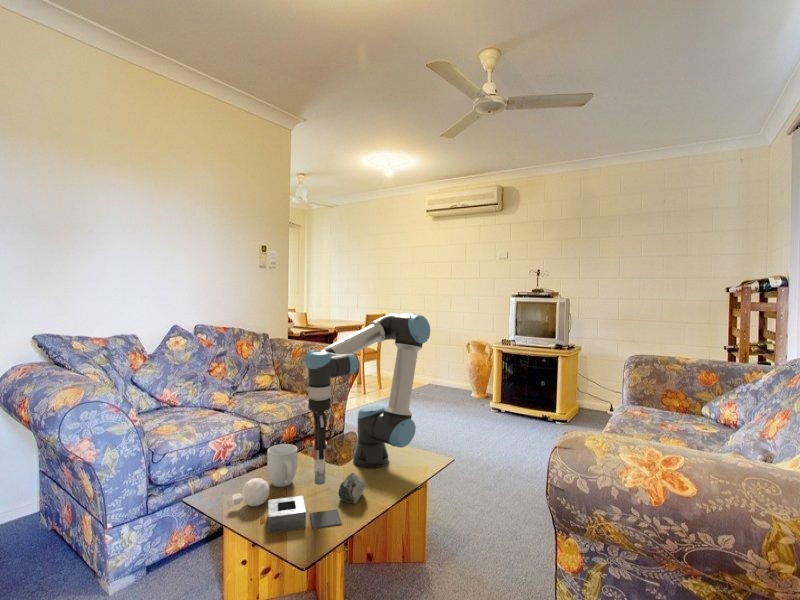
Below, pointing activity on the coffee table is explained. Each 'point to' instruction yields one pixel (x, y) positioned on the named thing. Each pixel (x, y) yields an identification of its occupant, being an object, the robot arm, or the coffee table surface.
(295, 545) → the coffee table surface
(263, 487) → the perfume bottle
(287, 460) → the mug
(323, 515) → the mat
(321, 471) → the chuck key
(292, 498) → the block
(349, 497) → the stone
